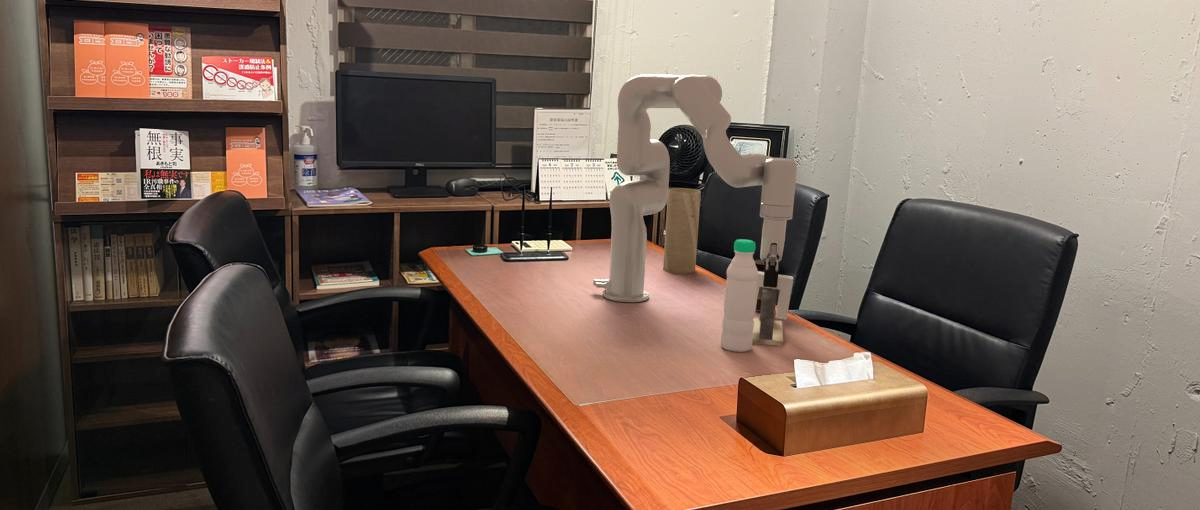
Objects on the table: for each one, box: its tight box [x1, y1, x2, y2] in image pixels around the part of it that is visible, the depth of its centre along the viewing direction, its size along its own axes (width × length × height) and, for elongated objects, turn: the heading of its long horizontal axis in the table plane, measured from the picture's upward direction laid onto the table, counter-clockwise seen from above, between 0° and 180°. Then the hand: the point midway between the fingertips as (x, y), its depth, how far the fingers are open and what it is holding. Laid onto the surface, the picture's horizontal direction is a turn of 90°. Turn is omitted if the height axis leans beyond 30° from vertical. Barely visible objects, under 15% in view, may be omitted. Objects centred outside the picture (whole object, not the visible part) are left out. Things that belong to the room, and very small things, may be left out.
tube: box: [662, 187, 702, 275], centre depth 271 cm, size 10×10×25 cm
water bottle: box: [720, 238, 758, 353], centre depth 197 cm, size 7×7×25 cm
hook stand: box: [752, 287, 784, 347], centre depth 210 cm, size 8×17×12 cm, turn 170°
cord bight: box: [754, 271, 794, 320], centre depth 209 cm, size 10×3×10 cm, turn 81°
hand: (769, 282), depth 208 cm, fingers open, 9 cm apart
